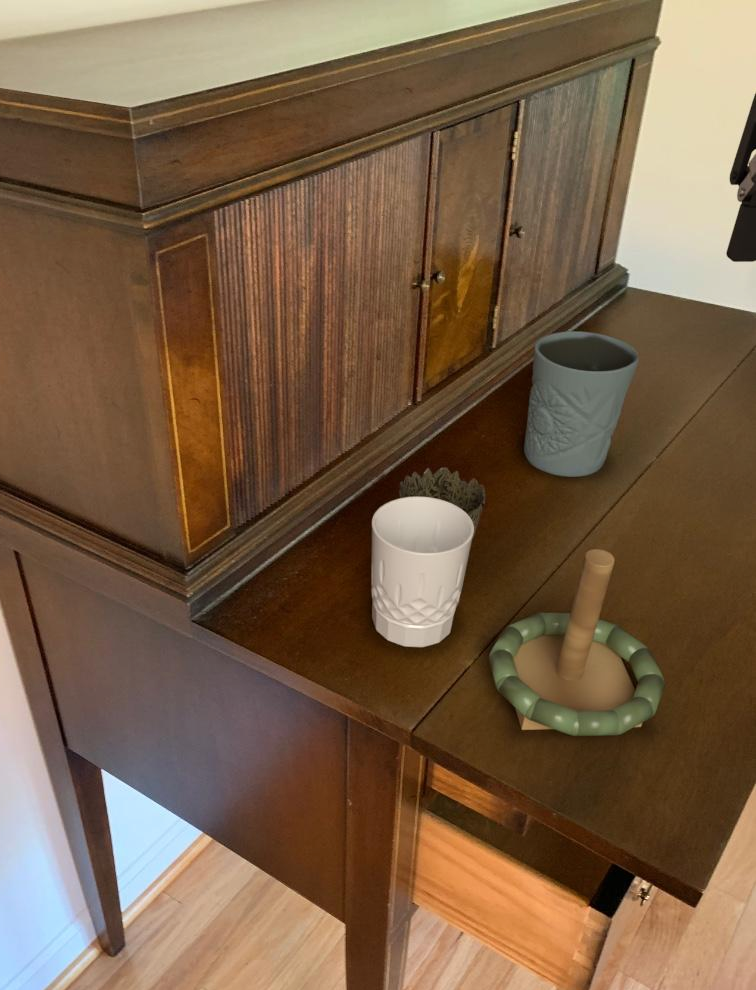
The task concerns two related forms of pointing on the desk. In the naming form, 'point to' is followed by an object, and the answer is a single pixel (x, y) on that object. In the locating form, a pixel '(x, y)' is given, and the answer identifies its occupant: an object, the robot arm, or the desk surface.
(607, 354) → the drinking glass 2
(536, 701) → the ring
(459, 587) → the white cup
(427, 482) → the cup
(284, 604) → the desk surface
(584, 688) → the post
